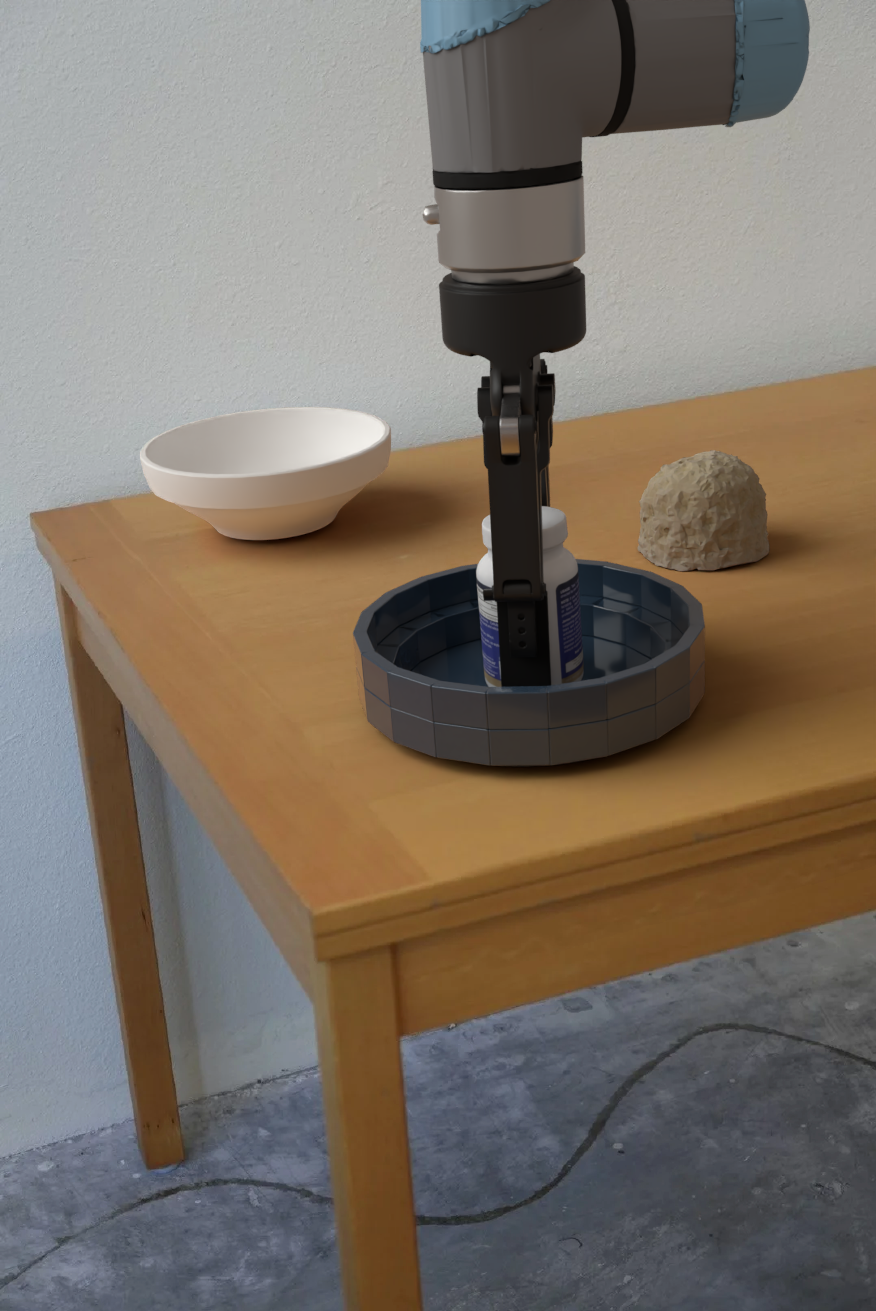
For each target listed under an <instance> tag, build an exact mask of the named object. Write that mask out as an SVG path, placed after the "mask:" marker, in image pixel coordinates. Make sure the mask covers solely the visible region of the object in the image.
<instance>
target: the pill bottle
mask: <svg viewBox="0 0 876 1311" xmlns="http://www.w3.org/2000/svg"><path fill="white" fill-rule="evenodd" d="M481 534H482V543H483V545H484V546H485V547H486V548H487V553H485V554H484V555H483V556H482V557H481V558H480V560H479V561H478V563H477V564H478V566H477V570H476V576H477V591H478V603H479V615H480V627H481V639H482V652H483V664H484V674H485V680H486V683H487V685H488V686H489V687H501V670H500V652H499V634H498V616H497V602H495V601H484V599H483V590H484V589H492V586H493V584H494V583H493V563H492V543H491V524H490V514H488V515H487V516H485V517H484V518H483V520H482V521H481ZM542 535H543V577H544V583H545V584H546V591H547V593H548V617H549V642H550V667H551V685H557V684H564V683H570V682H577V681H581V680H582V677H583V646H582V630H581V613H580V595H579V576H578V566H577V561H576V559H577V558H576V557H575V555H574V553H572V552H571V551H570V550H569V549H568V548H566V547H564V543H565V541H566V540H567V538H568V537H569V530H568V522H567V515H566V514H565V512H564V511H563V510H561V509H560V508H559V509H558V508H555V507H552V506H550V507H547V506H542Z"/></svg>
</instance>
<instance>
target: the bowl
mask: <svg viewBox="0 0 876 1311" xmlns="http://www.w3.org/2000/svg"><path fill="white" fill-rule="evenodd" d="M391 451H392V427H391V426H390V425H389V423H388V422H387V421H386V420H385V419H383V418H380V417H379V416H378V415H374V414H372V413H369V412H365V411H361V410H356V409H355V410H354V409H349V408H342V407H341V408H340V407H331V406H286V407H271V408H261V409H252V410H244V411H237V412H230V413H226V414H220V415H219V414H218V415H215V416H212V417H206V418H202V419H197V420H194V421H191V422H187V423H184V424H181V425H178V426H176V427H172V428H170V429H167V430H165V431H163V432H162V433H159V434H157V435H155V436H154V437H152V438H150V439H149V440H148V441H147V442H146V443H145V444H143V446H142V448H141V449H140V451H139V459H140V460H139V461H140V464H141V469H142V472H143V476H144V478H145V480H146V482H147V485H148V487H149V490H150V491H151V492H152V493H153V494H154V495H155V496H156V497H158V498H160V499H162V500H164V501H166V502H169V503H172V504H174V505H176V506H177V507H178V508H181V509H183V510H184V511H186V512H188V513H189V514H191V515H194V516H195V517H197V518H199V519H201V520H203V521H205V522H207V523H208V524H210V526H212V527H213V528H214V529H215V531H217V532H218V534H220V535H222V536H225V537H228V538H231V539H237V540H247V541H267V540H268V541H269V540H279V539H287V538H292V537H298V536H302V535H305V534H309V533H313V532H316V531H317V530H321V529H323V528H325V527H327V526H328V525H329V524H331V523H332V522H333V521H334V520H335V519H336V517H337V515H338V513H339V511H340V510H341V509H342V508H343V507H344V506H345V505H346V504H348V503H349V502H350V501H351V500H352V499H354V498H355V497H357V495H359V493H361V491H363V489H365V487H367V485H369V484H370V482H373V481H374V480H376V479H377V478H379V477H380V476H381V475H382V474H384V472H385V471H386V470H387V468H388V467H389V463H390V457H391Z"/></svg>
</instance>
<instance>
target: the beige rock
mask: <svg viewBox="0 0 876 1311" xmlns="http://www.w3.org/2000/svg"><path fill="white" fill-rule="evenodd" d="M659 469H660V470H659V471H658V472H656V473H655V475H654V476H651V478H650V479H649V481H648V483H647V486H646V488H645V489H644V490H643V493H642V495H641V498H640V500H638V503H639V505H640V510H639V523H640V529H639V537H638V539H637V543H638V545H637V551H638V552H639V553H641V554H642V555H643V558H645V559H646V560H648V561H649V562H650V563H651V564H654V565H655V566H656V567H663V568H666V569H667V570H676V571H679V572H686V571H693V570H696V569H697V570H698V571H715V570H720V569H725V568H729V567H735V566H739V565H746V564H751V563H757V562H759V561H760V560H761V559H763V558H765V557H766V556H767V555H769V553H770V542H769V539H768V536H769V532H768V510H767V502H766V501H767V499H766V497H767V493H766V492H765V490H764V488H763V485H762V484H761V483H760V477H759V475H758V474H757V473H756V471H755V470H754V468H753V467H752V466H751V465H749V464H747V463H745V462H744V461H743V460H742V459H741V458H739V456H738V455H733V454H732V453H731V454H727V453H726V452H723V451H721V450H716V449H713V450H712V449H711V450H709V451H702V452H698V453H695V454H694V455H692V456H685V457H684V456H683V457H681V458H679V459H678V460H676V461H673V462H671V463H670V464H668V463H667V464H663V465H662V466H660V468H659Z"/></svg>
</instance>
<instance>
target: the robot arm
mask: <svg viewBox="0 0 876 1311" xmlns="http://www.w3.org/2000/svg"><path fill="white" fill-rule="evenodd" d="M420 27H421V28H420V30H421V31H420V32H421V34H420V35H421V37H420V38H421V39H420V42H419V46H420V53H421V54H422V61H423V73H424V82H425V83H424V84H425V96H426V106H427V118H428V129H429V141H430V142H429V143H430V153H431V164H432V165H431V166H432V168H431V169H432V183H433V184H432V185H433V198H434V200H435V202H436V203H435V204H429V205H426V206H424V208H423V213H422V219H423V221H424V222H425V224H427V225H430V226H434V225H439V231H438V232H437V233H436V244H437V260H438V263H439V264H440V265H441V266H442V267H444V268H445V269H446V270H450V271H451V272H450V273H447V274H446V275H444V276H443V277H442V280H441V281H440V282H439V283H438V292H439V307H440V308H439V309H440V320H441V321H440V322H441V336H442V342H443V344H444V346H445V347H446V349H448V350H450V351H451V352H453V353H455V354H458V355H460V356H465V357H470V358H471V357H477V356H479V357H481V358H484V359H486V360H487V361H488V362H489V375H482V376H481V378H480V387H477V389H476V390H477V391H476V403H477V404H476V408H477V417H478V419H479V420H480V421H481V422H482V424H481V432H482V447H483V464H484V466H485V469H487V481H488V482H487V483H488V484H487V485H488V503H489V504H488V505H489V515H490V524H491V543H492V563H493V583H494V584H493V586H492V589H484V590H483V599H484V601H495V602H497V616H498V634H499V652H500V670H501V687H516V686H550V685H551V667H550V642H549V617H548V593H547V591H546V584H545V583H544V577H543V535H542V506H547V507H551V488H550V463H551V448H552V447H553V440H554V422H553V421H554V420H553V416H554V413H555V408H554V407H555V405H556V392H557V391H556V375H555V374H556V373H551V372H550V373H548V364H547V363H546V360H545V358H541V354H543V353H549V354H556V353H559V352H562V351H565V350H568V349H571V348H574V347H575V346H577V345H579V344H580V343H581V342H582V341H583V340H584V338H585V337H586V334H587V302H586V301H587V300H586V298H587V297H586V296H587V295H586V275H585V274H584V273H583V272H582V270H581V268H580V267H578V266H575V265H574V264H575V263H576V262H578V261H579V260H580V259H581V258H582V257H583V256H584V255H585V254H586V229H585V228H586V226H585V223H586V222H585V188H584V186H585V185H584V183H585V181H584V180H585V179H584V178H585V177H584V175H583V159H582V158H583V138H601V137H608V136H610V135H618V134H630V133H643V132H654V131H656V132H657V131H667V130H668V131H669V130H677V129H688V128H689V129H690V128H698V127H699V128H700V127H710V126H721V125H722V126H724V127H725V128H732V127H734V125H736V124H738V123H743V122H751V121H756V120H761V119H762V120H763V119H768V118H771V117H774V116H777V115H778V114H779V113H781V112H783V111H784V110H785V109H787V107H788V106H789V105H790V104H791V103H792V101H793V100H794V98H795V97H796V96H797V94H798V92H799V90H800V88H801V86H802V83H803V81H804V78H805V74H806V71H807V67H808V63H809V58H810V57H809V56H810V48H809V47H810V31H811V25H810V17H809V11H808V7H807V3H806V0H420Z"/></svg>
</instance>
